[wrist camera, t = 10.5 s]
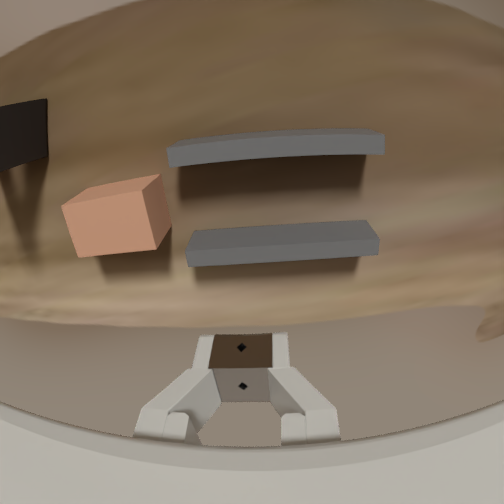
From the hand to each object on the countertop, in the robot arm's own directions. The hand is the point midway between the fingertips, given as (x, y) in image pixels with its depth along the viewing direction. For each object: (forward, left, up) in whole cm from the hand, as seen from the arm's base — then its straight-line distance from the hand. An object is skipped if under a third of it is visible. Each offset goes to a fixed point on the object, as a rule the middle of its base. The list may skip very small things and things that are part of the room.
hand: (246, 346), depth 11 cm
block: (+12, 0, -19) cm, 22 cm away
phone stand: (+24, -10, -19) cm, 32 cm away
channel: (-2, 0, -19) cm, 19 cm away
